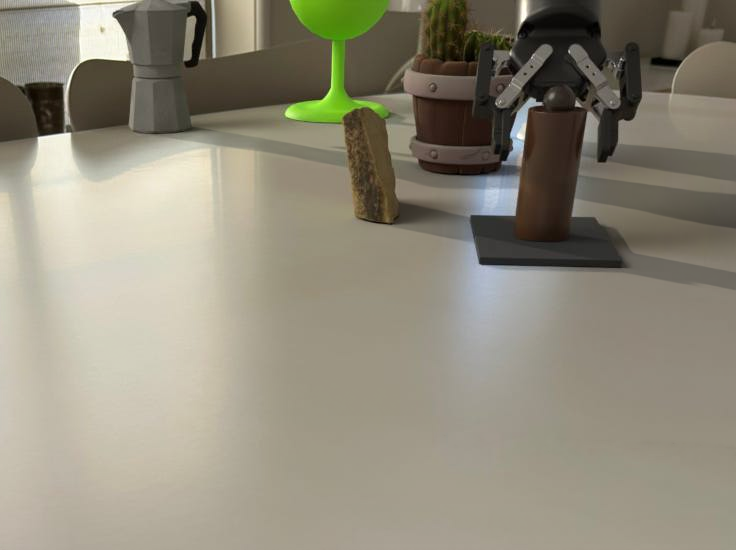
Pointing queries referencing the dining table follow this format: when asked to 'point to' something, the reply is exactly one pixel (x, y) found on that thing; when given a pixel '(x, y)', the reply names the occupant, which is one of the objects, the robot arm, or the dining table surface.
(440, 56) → the flowerpot
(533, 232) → the pepper mill
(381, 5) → the wineglass
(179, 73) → the coffeepot
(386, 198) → the rock
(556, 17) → the robot arm
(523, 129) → the white bowl
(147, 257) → the dining table surface
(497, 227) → the mat
